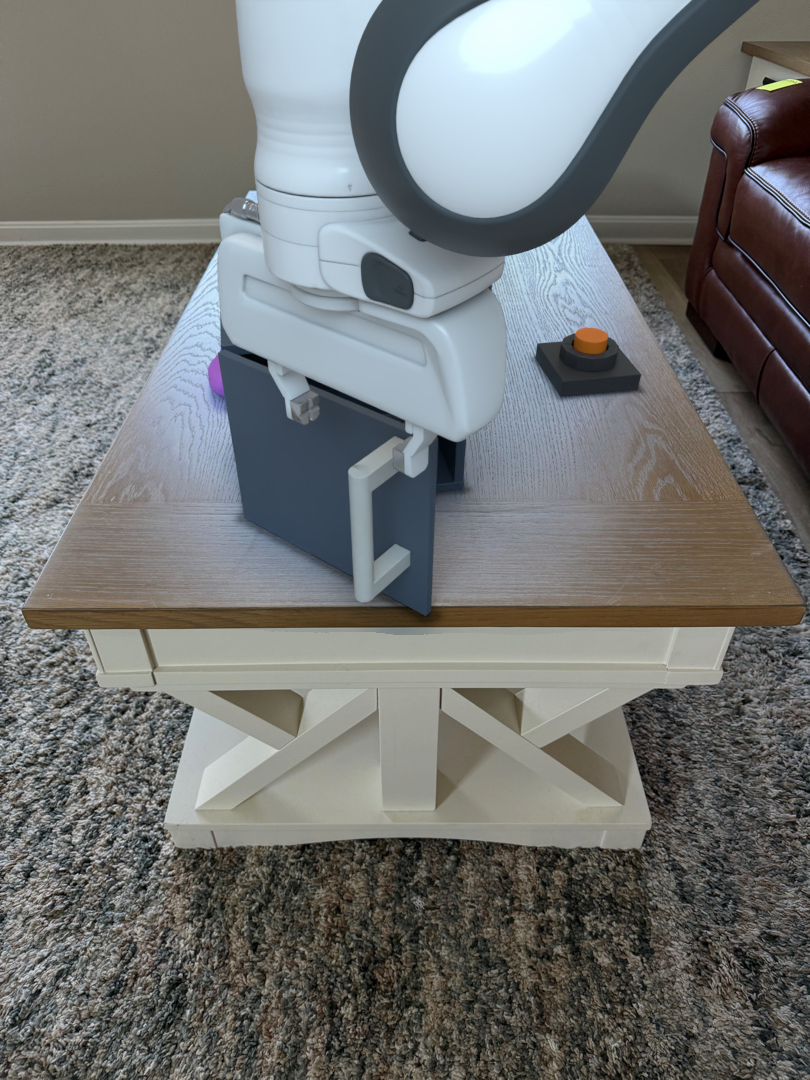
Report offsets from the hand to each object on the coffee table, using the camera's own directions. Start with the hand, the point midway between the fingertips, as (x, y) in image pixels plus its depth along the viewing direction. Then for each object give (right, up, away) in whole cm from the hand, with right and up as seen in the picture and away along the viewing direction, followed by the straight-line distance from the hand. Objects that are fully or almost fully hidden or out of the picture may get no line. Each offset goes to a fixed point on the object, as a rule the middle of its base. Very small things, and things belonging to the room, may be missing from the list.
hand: (354, 443), depth 51 cm
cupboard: (-3, +2, +33) cm, 33 cm away
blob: (-15, +13, +46) cm, 50 cm away
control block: (+26, +15, +48) cm, 57 cm away
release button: (+26, +17, +46) cm, 55 cm away
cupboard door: (-5, -10, +19) cm, 22 cm away
